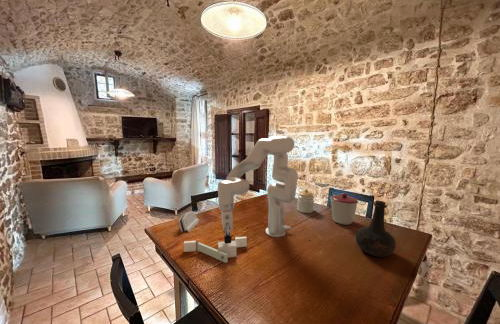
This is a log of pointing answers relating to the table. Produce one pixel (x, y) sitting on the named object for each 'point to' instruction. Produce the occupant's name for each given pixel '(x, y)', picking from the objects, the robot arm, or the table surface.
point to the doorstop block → (228, 248)
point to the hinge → (188, 221)
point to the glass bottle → (376, 234)
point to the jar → (305, 201)
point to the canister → (343, 208)
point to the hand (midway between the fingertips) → (227, 237)
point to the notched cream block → (192, 244)
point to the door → (212, 252)
